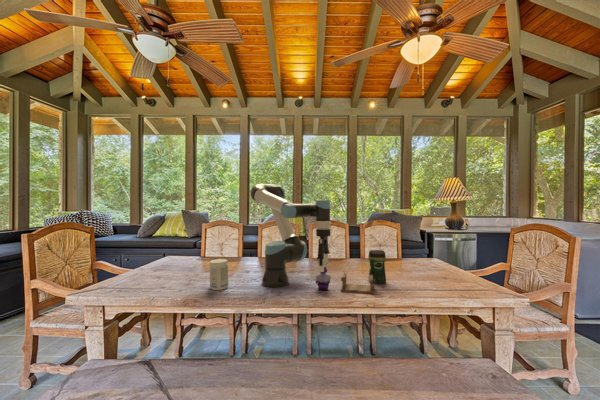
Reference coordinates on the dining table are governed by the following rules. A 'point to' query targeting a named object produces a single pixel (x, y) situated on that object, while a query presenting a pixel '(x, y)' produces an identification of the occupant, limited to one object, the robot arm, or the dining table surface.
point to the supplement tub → (218, 274)
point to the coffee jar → (377, 266)
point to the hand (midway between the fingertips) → (323, 268)
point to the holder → (357, 286)
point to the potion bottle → (323, 280)
